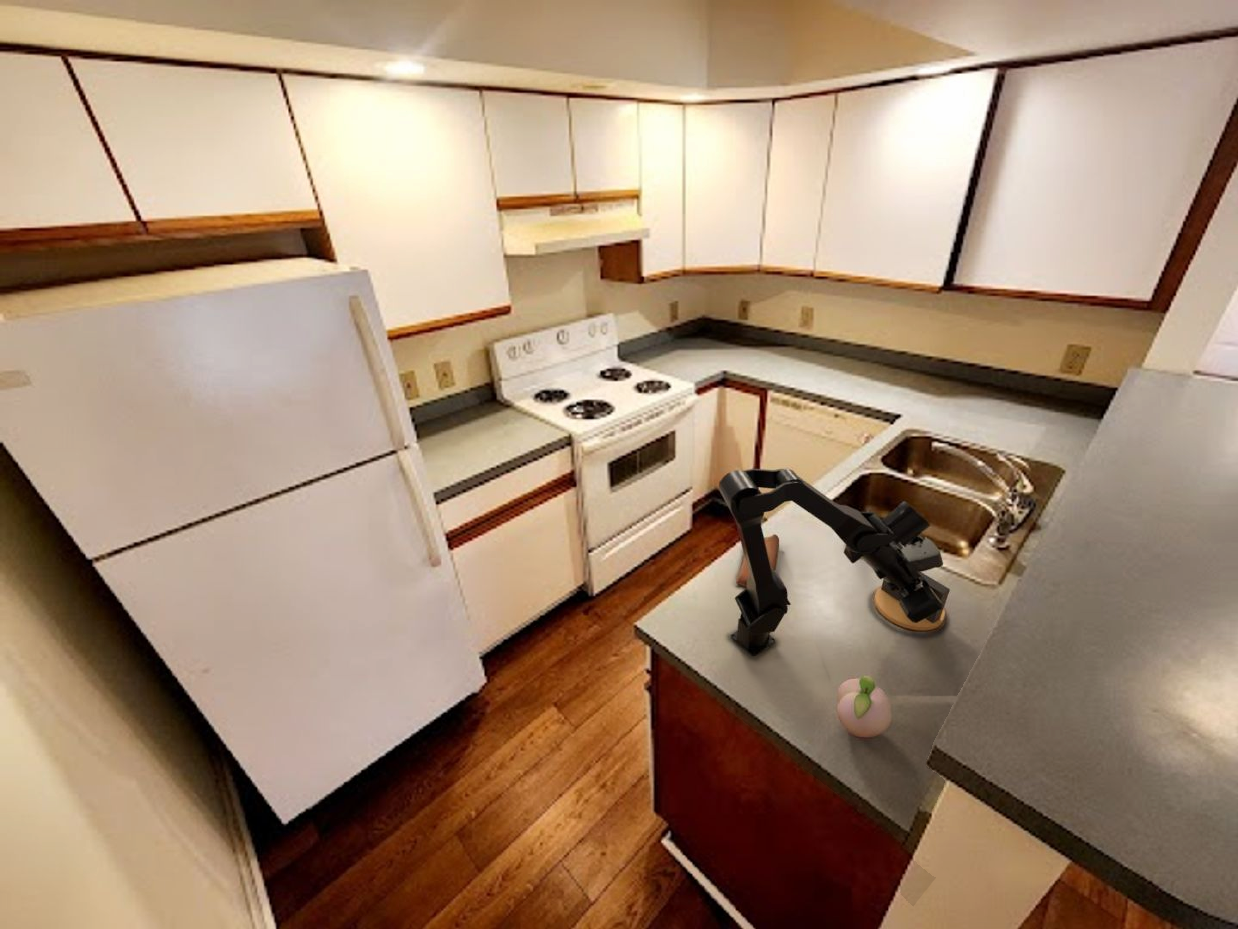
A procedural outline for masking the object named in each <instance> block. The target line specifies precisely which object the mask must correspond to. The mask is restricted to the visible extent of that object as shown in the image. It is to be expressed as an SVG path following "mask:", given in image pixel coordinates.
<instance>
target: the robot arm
mask: <svg viewBox="0 0 1238 929" xmlns="http://www.w3.org/2000/svg"><path fill="white" fill-rule="evenodd" d="M759 488H761V489H769V490H770V489H772V490H771V491H766V492H761V490H760V489H759ZM718 490H719V492H720V494H721V496H722V498H723V501H724V502H725V504H726V506H727V508H728V510H729V511H730V513H731V515H732V517H733V519H734V521H735V526H736V529H737V532H738V536H739V540H740V544H741V547H742V548H741V549H742V552H743V557H744V556H745V560H746V563H747V567H748V571H749V577H748V579H747V587H745V588H744V589H743V590H742V591H741V592H739V593H738V594H737V595H735V597H734V600H735V603H736V605H737V607H738V609H739V611H740V617H739V618H738V620H737V630H736V631H734V632H733V633H731V634H730V639H732V640H733V641H734V642H735V643H736V644H738V646H740V647H741V648H742V649H743V650H745V652H747V654H749V655H750V656H751V657H756V656H758V655H760V654H761V653H762V652H764V651H765V650H766V649H768V648H770V647H771V646H772V645H774V644H775V643H776V639H775V638H774V637H773V636H772V635H771V633H775V631H776V630H777V629H778V626H779V625H780V624H781V621H782V620H783V618H784V616H785V615H787V613H788V611H789V606H791V604H792V603H791V602H790V600H789V598H788V594H789V593H788V589H787V586H786V585H785V583H784V582H783V580H782V579H781V577H780V575H779V573H778V572H777V570H775V569H774V570H771V566H770V562H769V557H768V553H767V549H766V544H765V540H764V537H765V536H764V532H763V528H762V520H763V518H764V516H765V513H767V512H772V511H774V510H776V508H778V507H780V506H781V505H783V504H784V503H786V502H787V503H788V502H793V503H794V504H796V505H797V506H799V508H802V510H804V511H805V512H807V513H809V514H811V515H812V516H813V517H814V518H815V519H817V520H819V521H821V522H822V523H823V524H825V525H826V526H828V527H829V528H830V529H831V530H832V531H833V532H834V533H835V534H836V535H837V536H838V537H839V539H840V540H841V541H842V543H844V545H845V547H844V550H843V554H844V556H845V557H846V558H847V559H848V560H849V562H850V563H851V564H855V563H857V561H859V560H860V559H861V560H863V561H864V562H865V563H866V564H867V565H868V566H869V567H870V568H871V569H872V570H873V571H874V573H875V574H876V577H877V578H878V579H879V580H883V579H884V580H885V581H886V583H887V585H888V586H889V588H890V589H891V590H892V591H894V590H898V592H896V594H897V595H898V597H899V599H900V606H901V608H902V610H903V611H904V613H905V615H906V616H907V618H908V619H909V620H911V621H912V622H913V623H918V622H919V621H921V620H923V619H925V618H926V617H928V616H930V615H932V614H933V613H935V612H937V611H939V610H941V609H942V607H943V604H942V602H941V601H940V599H939V598H938V597H937V595H936V594H935V593H934V591H933V590H932V589H931V588H930V587H929V584H928V582H927V581H926V579H925V578H924V577H921V574H920V572H922V573H923V572H926V571H929V570H932V569H935V568H942V567H943V565H944V560H943V557H942V554H941V551H940V549H939V548H938V546H937V545H936V544H935V542H934V541H933V540H932V539H930V538H928V537H927V536H924V538H923V536H922V535H921V534H923V533H924V532H925V531H926V530H927V529H929V528H930V527H931V524H930V522H929V521H928V520H927V519H925V517H923V516H922V515H921V514H920V513H919V512H918V511H916V510H915V508H913V507H912V506H911V505H910V504H909V503H908V502H906V500H905V501H902V502H900V504H898V506H897V507H896V508H894V510H892V511H891V512H890V513H888V514H887V515H885V517H883V518H882V519H881V518H880V517H879V516H878V515H877V514H876V513H875V512H874V511H870V512H867V511H859V510H857V509H855V508H854V507H853V508H852V507H850V506H849V505H846V504H839V503H836V502H835V501H834V500H832V499H831V498H830V497H828V496H826V495H825V494H824V493H822V492H821V491H819V490H818V489H817V488H815V487H814V486H813V485H811V484H810V483H808V482H807V481H806V480H804V479H803V478H801V477H800V476H799V475H798V474H797V473H796V472H795V471H794V470H793V469H791V468H787V467H785V468H779V469H763V468H750V469H745V470H740V469H737V470H732V471H730V472H727V473H726V474H725V475H724V476H723V477H722V478H721V479H720V480H719V482H718ZM920 577H921V578H920Z"/></svg>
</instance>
